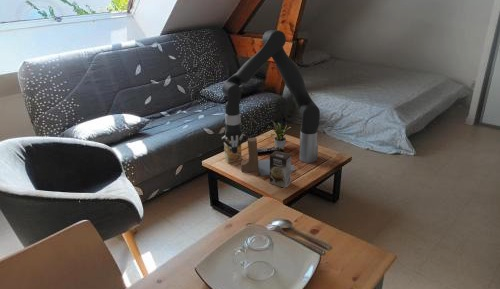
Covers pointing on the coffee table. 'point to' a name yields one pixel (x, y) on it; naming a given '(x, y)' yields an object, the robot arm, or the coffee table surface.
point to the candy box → (229, 155)
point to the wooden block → (251, 157)
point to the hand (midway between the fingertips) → (234, 152)
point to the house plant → (279, 136)
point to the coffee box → (280, 168)
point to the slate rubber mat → (267, 167)
